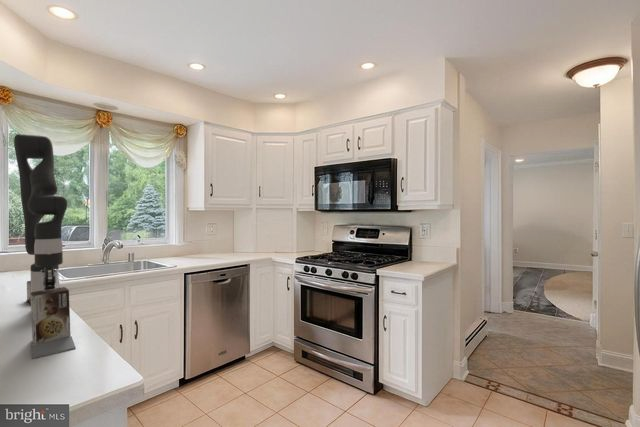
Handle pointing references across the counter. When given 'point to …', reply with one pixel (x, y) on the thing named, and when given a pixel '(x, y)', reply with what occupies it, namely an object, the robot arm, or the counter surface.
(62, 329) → the coffee box
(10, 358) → the counter surface
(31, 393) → the counter surface
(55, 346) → the mat
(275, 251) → the counter surface
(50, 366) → the counter surface
